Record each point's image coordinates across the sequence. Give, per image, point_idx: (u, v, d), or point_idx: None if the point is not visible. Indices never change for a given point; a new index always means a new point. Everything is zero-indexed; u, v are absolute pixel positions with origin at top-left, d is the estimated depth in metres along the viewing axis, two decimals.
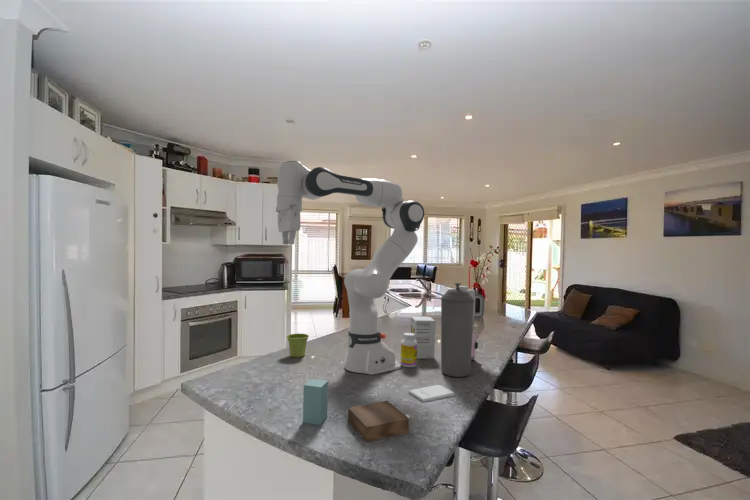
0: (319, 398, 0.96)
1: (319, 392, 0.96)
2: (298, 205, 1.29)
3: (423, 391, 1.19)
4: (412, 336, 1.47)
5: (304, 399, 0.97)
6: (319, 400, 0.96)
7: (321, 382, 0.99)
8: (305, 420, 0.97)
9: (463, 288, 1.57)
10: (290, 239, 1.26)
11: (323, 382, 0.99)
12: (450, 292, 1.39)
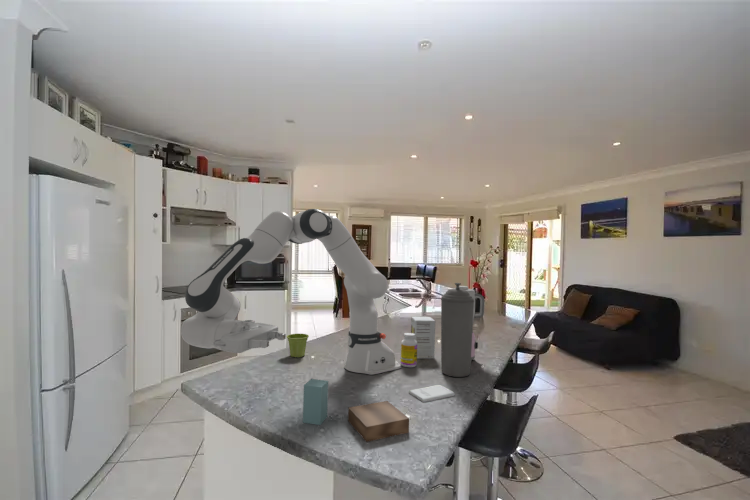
0: (319, 398, 0.96)
1: (319, 392, 0.96)
2: (225, 329, 1.02)
3: (423, 391, 1.19)
4: (412, 336, 1.47)
5: (304, 399, 0.97)
6: (319, 400, 0.96)
7: (321, 382, 0.99)
8: (305, 420, 0.97)
9: (463, 288, 1.57)
10: (260, 346, 0.97)
11: (323, 382, 0.99)
12: (450, 292, 1.39)
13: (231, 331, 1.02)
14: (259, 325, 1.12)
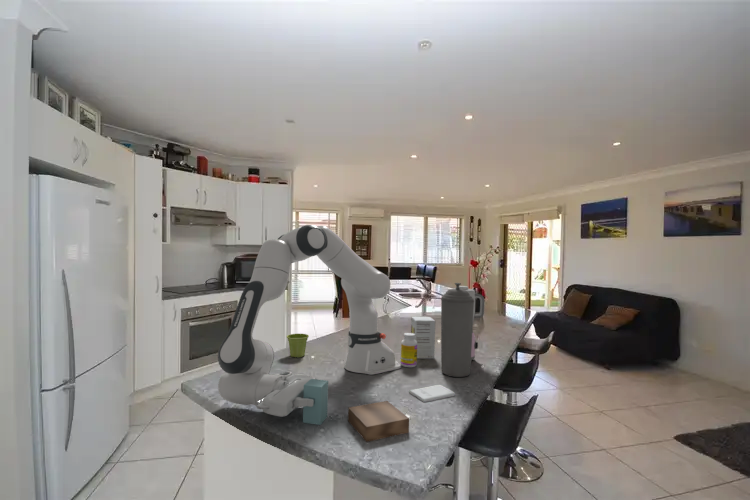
0: (319, 398, 0.96)
1: (319, 392, 0.96)
2: (266, 387, 0.99)
3: (424, 391, 1.19)
4: (412, 336, 1.47)
5: None
6: (319, 400, 0.96)
7: (321, 382, 0.99)
8: (305, 420, 0.97)
9: (463, 288, 1.57)
10: (307, 404, 0.95)
11: (323, 382, 0.99)
12: (450, 292, 1.39)
13: (272, 389, 0.98)
14: (297, 377, 1.08)
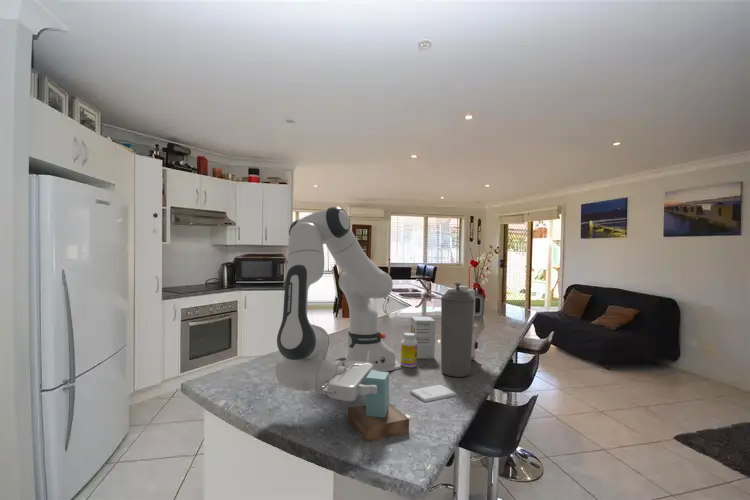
0: (383, 390, 0.93)
1: (382, 384, 0.93)
2: (327, 372, 0.96)
3: (424, 391, 1.19)
4: (412, 336, 1.47)
5: None
6: (383, 392, 0.93)
7: (383, 374, 0.96)
8: (368, 413, 0.94)
9: (463, 288, 1.57)
10: (370, 392, 0.91)
11: (384, 374, 0.96)
12: (450, 292, 1.39)
13: (334, 374, 0.96)
14: (353, 363, 1.05)
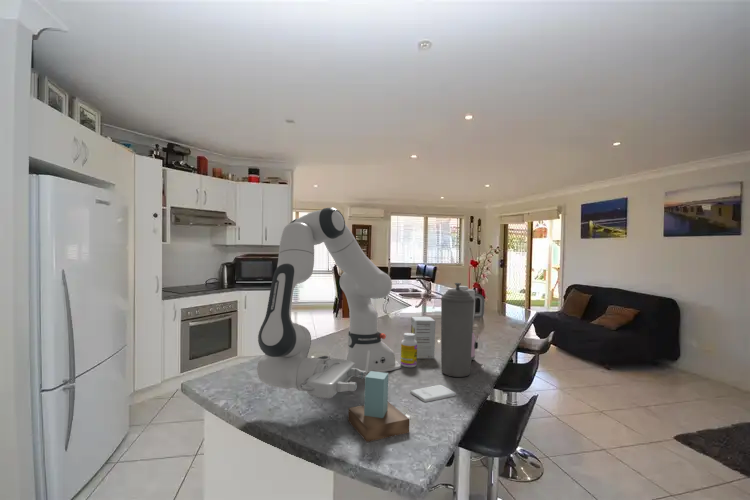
0: (381, 390, 0.93)
1: (381, 384, 0.93)
2: (307, 370, 0.97)
3: (424, 391, 1.19)
4: (412, 336, 1.47)
5: (366, 391, 0.94)
6: (382, 392, 0.93)
7: (382, 375, 0.96)
8: (367, 413, 0.94)
9: (463, 288, 1.57)
10: (349, 389, 0.92)
11: (384, 374, 0.97)
12: (450, 292, 1.39)
13: (314, 372, 0.97)
14: (335, 362, 1.07)
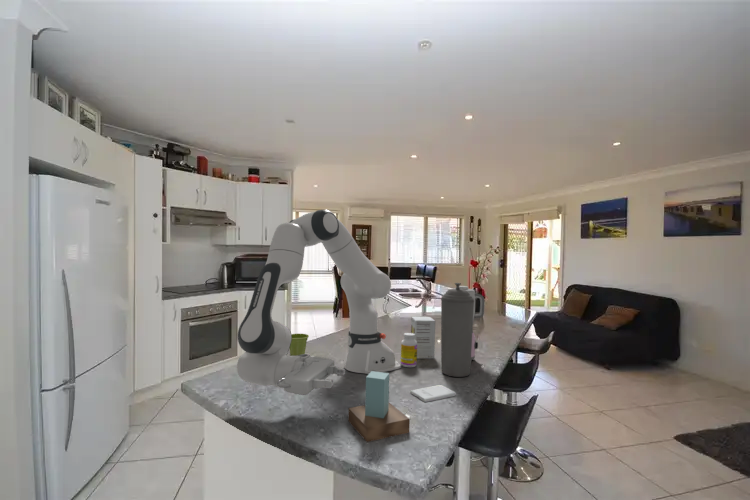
0: (382, 390, 0.93)
1: (382, 384, 0.93)
2: (285, 367, 0.99)
3: (425, 391, 1.19)
4: (412, 336, 1.47)
5: (366, 391, 0.94)
6: (382, 393, 0.93)
7: (383, 375, 0.96)
8: (368, 413, 0.94)
9: (463, 288, 1.57)
10: (325, 386, 0.94)
11: (385, 374, 0.97)
12: (450, 292, 1.39)
13: (291, 369, 0.99)
14: (315, 359, 1.08)
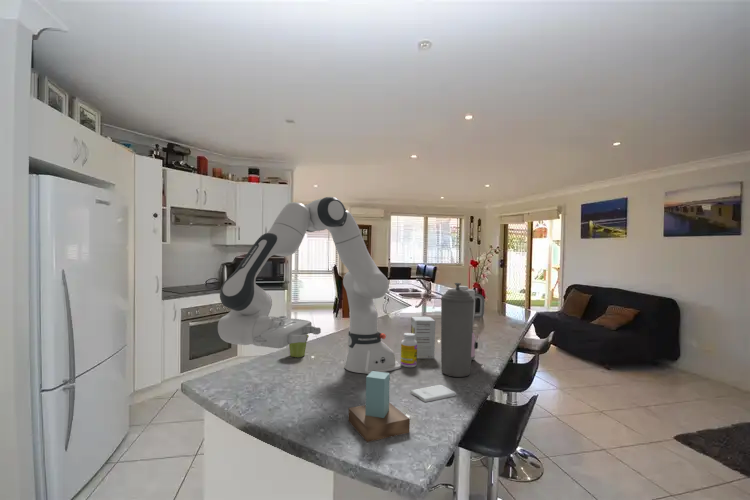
0: (382, 390, 0.93)
1: (382, 384, 0.93)
2: (263, 326, 1.04)
3: (425, 391, 1.19)
4: (412, 336, 1.47)
5: (367, 391, 0.95)
6: (382, 392, 0.93)
7: (383, 375, 0.96)
8: (368, 413, 0.94)
9: (463, 288, 1.57)
10: (299, 340, 0.99)
11: (385, 374, 0.97)
12: (450, 292, 1.39)
13: (269, 327, 1.04)
14: (292, 321, 1.14)
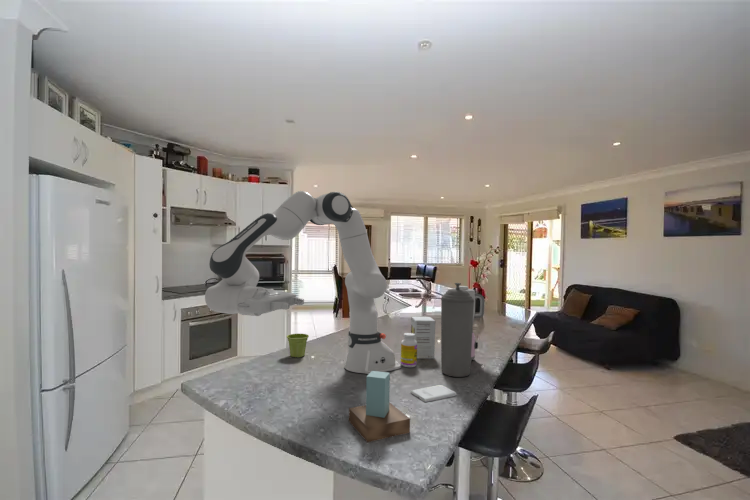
0: (383, 389, 0.93)
1: (382, 383, 0.93)
2: (247, 294, 1.08)
3: (425, 391, 1.19)
4: (412, 336, 1.47)
5: (367, 391, 0.95)
6: (383, 392, 0.93)
7: (383, 374, 0.96)
8: (368, 413, 0.94)
9: (463, 288, 1.57)
10: (281, 308, 1.03)
11: (385, 374, 0.97)
12: (450, 292, 1.39)
13: (253, 296, 1.08)
14: (277, 293, 1.18)
